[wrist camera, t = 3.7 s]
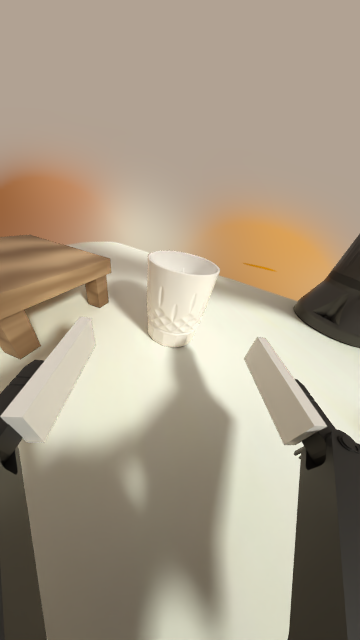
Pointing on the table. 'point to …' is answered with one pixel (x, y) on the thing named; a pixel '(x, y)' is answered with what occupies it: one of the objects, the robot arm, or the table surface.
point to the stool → (42, 284)
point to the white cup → (177, 295)
